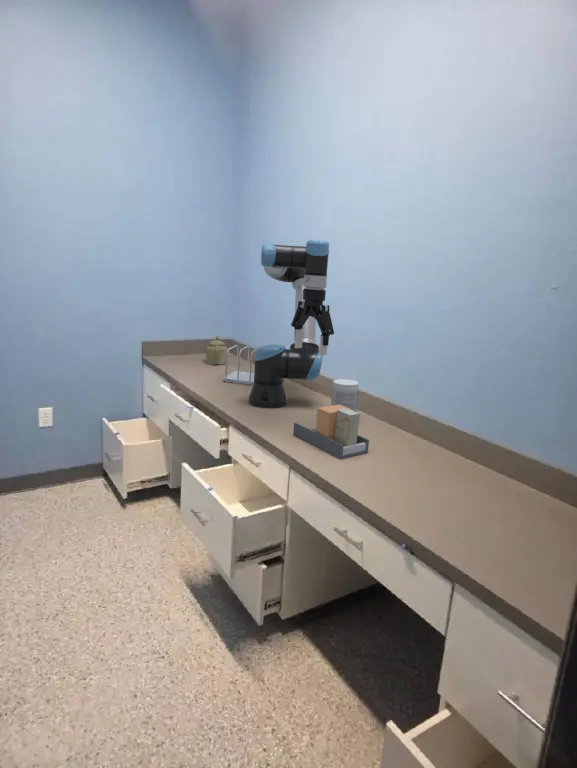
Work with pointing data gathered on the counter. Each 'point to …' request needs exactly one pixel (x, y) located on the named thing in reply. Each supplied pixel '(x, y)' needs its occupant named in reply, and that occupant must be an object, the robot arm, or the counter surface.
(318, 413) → the block
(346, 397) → the supplement tub
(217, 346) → the sugar bowl
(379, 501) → the counter surface
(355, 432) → the skincare box
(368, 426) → the counter surface
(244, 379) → the file sorter
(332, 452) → the tray
